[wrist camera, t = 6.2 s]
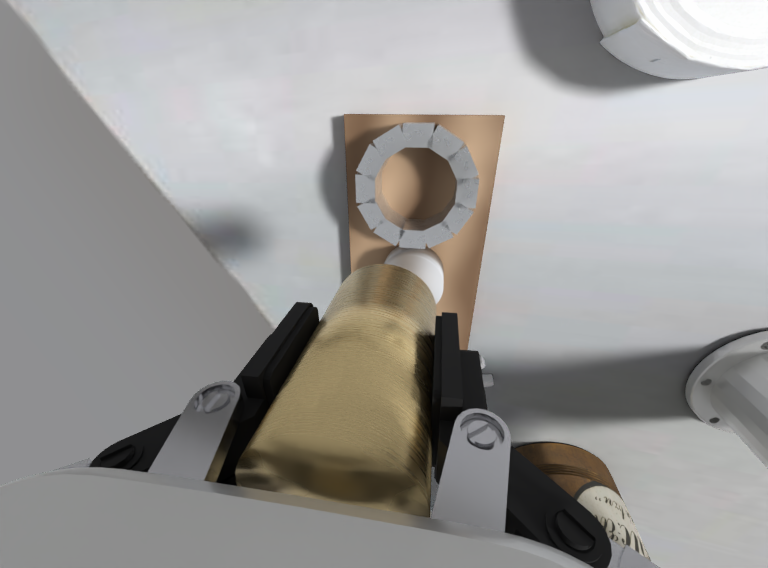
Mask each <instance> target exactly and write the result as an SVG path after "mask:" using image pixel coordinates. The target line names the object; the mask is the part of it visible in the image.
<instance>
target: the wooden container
mask: <svg viewBox="0 0 768 568" xmlns="http://www.w3.org/2000/svg"><path fill="white" fill-rule="evenodd" d="M515 449H516V450H517V451H518V452H519V453H521V454H522V455H523V456H524V457H525V458H527V459H528V460H529V461H530V462H531V463H533V464H534V465H535V466H536V467H537V468H539V469H540V470H541V471H542V472H543V473H545V474H546V475H547V476H548V477H549V478H550V479H552V480H553V481H554V482H555V483H556V484H558V485H559V486H560V487H561V488H562V489H564V490H565V491H566V492H567V493H568V494H570V495H571V496H572V497H573V498H574V499H576V500H577V501H578V502H579V503H580V504H581V505H583V506H584V507H585V508H586V509H587V510H589V511H590V512H591V513H592V514H593V515H594V516H595V517H596V518H597V519H598V520H599V522H600V523H601V525H602V526H603V528H604V529H605V531H606V532H607V535H608V538H610V539H611V540H613V541H614V542H616V543H617V544H618V545H620V546H621V547H623V548H624V546H625V545H628V546H629V547H631V548H632V549H634V550H635V551H637V552H638V553H639V554H641V555H642V556H644V557H645V558H647V559H648V560H649V561H651V560H650V558H649V556H648V553H647V551H646V549H645V546H644V544H643V542H642V540H641V538H640V535H639V533H638V531H637V529H636V526H635V524H634V522H633V520H632V518H631V516H630V514H629V512H628V510H627V508H626V505H625V503H624V501H623V500H622V498H621V496H620V493H619V491H618V489H617V487H616V485H615V482H614V480H613V478H612V476H611V474H610V472H609V470H608V468H607V467H606V465H605V464H604V463H603V462H602V461H601V460H600V459H599V458H598V457H596V456H595V455H593V454H591V453H590V452H588V451H586V450H583V449H580V448H578V447H574V446H570V445H566V444H559V443H536V444H529V445H525V446H521V447H518V448H515Z"/></svg>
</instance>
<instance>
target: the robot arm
mask: <svg viewBox="0 0 768 568" xmlns="http://www.w3.org/2000/svg"><path fill="white" fill-rule="evenodd" d="M318 324H319V315H318V309H317V307H313V304H312V303H303V302H296V303H295V305H294V306H293V307H292V308H291V310H290V311H289V312H288V314H287V315H286V316H285V318H284V319H283V320H282V322H281V323H280V324H279V325H278V327H277V328H276V329H275V331H274V332H273V333H272V334H271V335H270V336H269V337H268V338H267V339H266V340H265V342H264V343H263V344H262V345H261V347H260V348H259V349H258V351H257V352H256V353H255V355H254V356H253V357H252V358H251V360H250V361H249V362H248V364H247V365H246V366H245V367H244V369H243V370H242V371H241V373H240V374H239V375H238V377H237V378H236V379H235V380H234V382H231V381H219V382H215V383H212V384H209V385H207V386H205V387H203V388H202V389H200V390H199V391H198V392H197V393H195V394H194V396H193V397H192V398H191V399H190V401H189V403H188V404H187V406H186V408H185V409H184V411H183V413H182V414H180V415H178V416H176V417H173V418H171V419H169V420H166V421H164V422H162V423H160V424H157V425H155V426H153V427H150V428H148V429H146V430H143V431H141V432H139V433H137V434H134V435H132V436H130V437H128V438H125V439H123V440H121V441H119V442H117V443H115V444H113V445H111V446H110V447H108V448H107V449H105V450H104V451H102V452H101V453H100V454H99V455H98V456H97V457H96V458H95V459H94V460H93V461H91V460H90V458H88V459H85V460H82V461H79V462H77V463H74V464H71V465H68V466H65V467H62V468H59V469H56V470H53V471H50V472H45V473H41V474H36V475H31V476H27V477H24V478H21V479H17V480H14V481H12V482H9V483H6V484H3V485H1V486H0V568H660V567H658V566H657V565H655V564H654V563H652V562H651V561H649V560H648V559H647V558H645V557H644V556H642V555H641V554H639V553H638V552H637V551H635V550H634V549H632V548H631V547H629V546H628V545H625V546H624V548H623V547H621V546H620V545H618V544H617V543H616V542H614V541H613V540H611V539H610V538H608V535H607V532H606V531H605V529H604V528H603V526H602V525H601V523H600V522H599V520H598V519H597V518H596V517H595V516H594V515H593V514H592V513H591V512H590V511H589V510H587V509H586V508H585V507H584V506H583V505H581V504H580V503H579V502H578V501H577V500H576V499H574V498H573V497H572V496H571V495H570V494H568V493H567V492H566V491H565V490H564V489H562V488H561V487H560V486H559V485H558V484H556V483H555V482H554V481H553V480H552V479H550V478H549V477H548V476H547V475H546V474H545V473H543V472H542V471H541V470H540V469H539V468H537V467H536V466H535V465H534V464H533V463H531V462H530V461H529V460H528V459H527V458H525V457H524V456H523V455H522V454H521V453H519V452H518V451H517V450H516V449H515V448H514V447H512V446H511V435H510V431H509V429H508V426H507V424H506V423H505V422H504V421H503V420H502V419H501V418H500V417H499V416H497V415H496V414H494V413H492V412H490V411H487V404H486V398H485V391H484V384H483V377H482V370H481V364H480V357H479V352H478V351H470V350H460V345H459V330H458V316H457V313H449V312H442V316H436V320H435V335H434V360H433V386H432V411H431V426H432V466H433V467H435V477H434V478H435V479H436V482H437V483H438V484H439V487H438V491H437V495H436V499H435V503H434V507H433V511H432V515H431V518H428V517H422V516H416V515H410V514H404V513H398V512H392V511H386V510H380V509H374V508H368V507H362V506H356V505H350V504H344V503H338V502H332V501H326V500H320V499H314V498H308V497H302V496H296V495H290V494H283V493H277V492H271V491H265V490H259V489H252V488H246V487H240V486H237V483H236V476H235V472H236V466H237V464H238V461H239V459H240V457H241V456H242V454H243V452H244V450H245V449H246V447H247V445H248V444H249V442H250V440H251V438H252V437H253V435H254V433H255V432H256V430H257V428H258V427H259V425H260V423H261V421H262V420H263V418H264V416H265V415H266V413H267V411H268V409H269V408H270V406H271V404H272V403H273V401H274V399H275V397H276V396H277V394H278V392H279V391H280V389H281V387H282V385H283V384H284V382H285V380H286V379H287V377H288V375H289V373H290V372H291V370H292V368H293V367H294V365H295V363H296V361H297V360H298V358H299V356H300V355H301V353H302V351H303V350H304V348H305V346H306V344H307V343H308V341H309V339H310V338H311V336H312V334H313V332H314V331H315V329H316V327H317V326H318ZM685 395H686V399H687V403H688V404H689V406H690V408H691V409H692V410H693V412H694V413H695V414H696V415H697V416H698V417H699V418H700V419H701V420H702V421H703V422H705V423H706V424H708V425H710V426H712V427H714V428H716V429H719V430H723V431H726V432H730V433H736V434H737V435H738V436H739V437H740V439H741V440H742V441H743V442H744V443H745V444H746V445H747V446H748V447H749V449H750V450H751V451H752V452H753V453H754V454H755V455H756V456H757V457H758V458H759V460H760V461H761V462H762V463H763V464H764V465H765V466H766V467H767V468H768V331H764V332H759V333H756V334H752V335H748V336H745V337H742V338H740V339H737V340H735V341H732V342H730V343H728V344H726V345H724V346H722V347H721V348H719V349H717V350H715V351H714V352H713V353H711V354H710V355H708V356H707V357H706V358H704V359H703V360H702V361H701V362H700V363H699V364H698V365H697V367H696V368H695V369H694V371H693V372H692V373H691V375H690V376H689V379H688V382H687V384H686V391H685Z"/></svg>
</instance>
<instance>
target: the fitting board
mask: <svg viewBox="0 0 768 568" xmlns="http://www.w3.org/2000/svg"><path fill="white" fill-rule="evenodd" d="M504 118H505V116H504V115H398V114H344V128H345V150H346V172H347V193H348V215H349V237H350V258H351V274H352V273H353V272H354V271H356V270H358V269H360V268H362V267H365V266H369V265H374V264H390V265H395V266H399V267H402V268H405V269H407V270H409V271H411V272H412V273H414V274H415V275H417V276H418V277H419V278H421V279H422V280H423V281H424V282H425V283H426V285H427V286H428V287H429V289H430V290H431V292H432V294H433V296H434V299H435V302H436V316H442V312H449V313H457V316H458V330H459V345H460V350H467V349H468V342H469V336H470V330H471V324H472V318H473V311H474V305H475V299H476V293H477V286H478V280H479V274H480V268H481V261H482V255H483V249H484V243H485V237H486V230H487V224H488V218H489V212H490V205H491V199H492V193H493V187H494V180H495V174H496V168H497V162H498V155H499V149H500V143H501V137H502V131H503V124H504ZM406 122H435V130H436V128H437V126H438V125H439V124H440V125H442V126H443V127H445V128H446V129H448V130H449V131H450V132H452V133H453V134H455V135H456V136H458V137H459V138H461V139H462V140H463V142H464V143H465V144H466V145H467V147H468V150H469V152H470V154H471V157H472V159H473V162H474V164H475V166H476V169H477V171H478V173H479V175H478V177H479V186H478V194H477V201H476V208H473V211H474V213H473V214H472V215H471V217H470V218H469V219H468V221H467V222H466V223H465V225H464V226H463V227H462V228H461V230H460V231H459V232H458V234H457V235H456V234H455V233H453V238H451V239H449V240H447V241H444V242H442V243H440V244H438V245H435V246H433V247H431V248H428V246H427V244H426V247H425V249H416V248H401V247H399V242H398V243H397V245H396V246H394V245H393V244H391V243H390V242H388V241H386V240H385V239H383V238H382V237H380V236H378V235H377V234H375V233H373V232H374V231H375V229H376V227H375V228H373V229H370V227H369V226H368V224H367V222H366V221H365V219H364V217H363V215H362V214H361V212H360V210H359V209H358V207H357V206H358V205H359V204H360V203H356V182H355V174H357V173H358V171H356V170H357V168H358V166H359V164H360V162H361V160H362V158H363V156H364V154H365V152H366V150H367V148H368V146H369V144H371V143H373V140H375V139H376V138H378V137H380V136H381V135H383V134H384V133H386V132H388V131H389V130H391V129H392V128H394V127H396V126H397V125H399V124H403V123H406ZM455 181H456V177H455V175H454V173H453V171H452V168H451V166H450V164H449V162H448V160H446V159H445V158H443V157H442V156H440V155H439V154H437V153H436V152H434V151H433V150H431V149H430V148H413V147H405V148H404V149H402V150H400V151H399V152H397V153H395V154H394V155H392V156H391V157H390V158H389V160H388V162H387V164H386V166H385V167H384V169H383V171H382V193H383V195H384V197H385V199H386V201H387V202H388V204H389V206H390V208H391V209H392V210H394V211H395V212H397V213H398V214H400V215H402V216H403V217H405V218H406V219H420V220H426V219H428V218H430V217H432V216H434V215H436V214H438V213H440V212H442V211H443V210H444V209H445V207H446V206H447V204H448V203H449V202H450V200H451V199H452V197H453V196H454V191H455Z"/></svg>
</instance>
